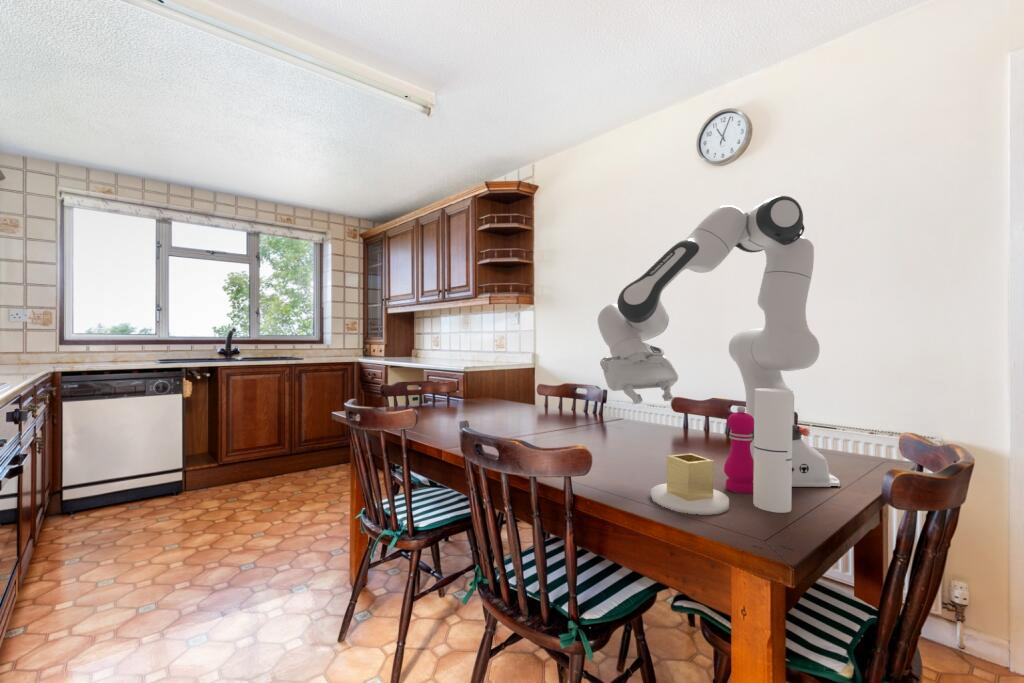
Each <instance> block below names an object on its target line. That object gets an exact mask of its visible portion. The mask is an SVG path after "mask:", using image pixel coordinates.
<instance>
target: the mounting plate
mask: <svg viewBox="0 0 1024 683" xmlns="http://www.w3.org/2000/svg"><path fill="white" fill-rule="evenodd" d="M650 498H652V499H651V501H653V502H654V503H655V502H656V503H657V505H658V504H659V505H661V506H660V507H662V506H663V507H662V508H664V507H665V508H664V509H666V508H668V509H667V510H669V509H670V510H671V511H673V510H674V512H677V513H682V514H687V513H688V514H689V515H696V514H698V515H700V516H710V515H713V514H714V515H719V514H723V513H725V512H727V511H728V510H729V509H730V498H729V497H728V496H727V495H726V494H725V493H723V492H721V491H719V490H718V489H714V488H713V498H707V499H700V500H693V501H687V500H684V499H682V498H680V497H678V496H676V495H674V494H672V493H670V492H667V482H665V483H662V484H656V485H655V486H653V487H652V488H651V490H650ZM656 503H655V504H656ZM659 505H658V506H659ZM698 515H697V516H698Z"/></svg>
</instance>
